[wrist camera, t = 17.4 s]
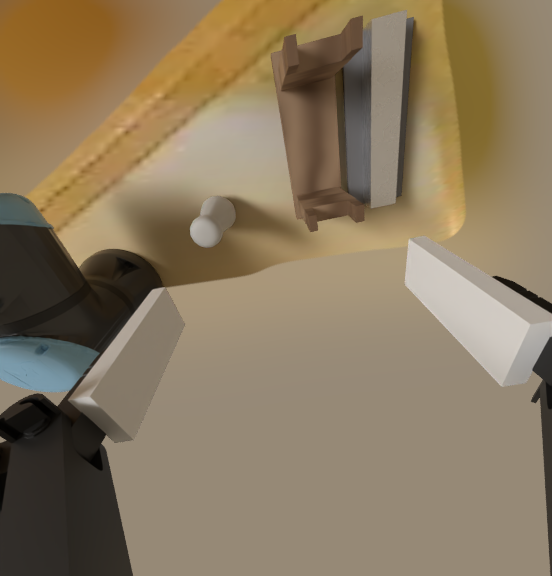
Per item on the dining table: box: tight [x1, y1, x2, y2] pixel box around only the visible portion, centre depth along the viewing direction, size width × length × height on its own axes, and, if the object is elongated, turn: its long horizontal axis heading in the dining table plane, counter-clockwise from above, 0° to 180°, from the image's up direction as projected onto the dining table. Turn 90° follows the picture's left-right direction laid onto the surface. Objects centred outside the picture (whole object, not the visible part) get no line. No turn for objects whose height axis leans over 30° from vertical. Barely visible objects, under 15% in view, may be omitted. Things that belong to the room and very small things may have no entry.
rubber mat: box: [343, 17, 414, 204], centre depth 37 cm, size 9×22×1 cm, turn 12°
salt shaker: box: [190, 196, 236, 248], centre depth 37 cm, size 6×6×13 cm
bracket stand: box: [271, 16, 364, 232], centre depth 32 cm, size 8×22×14 cm, turn 11°
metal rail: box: [362, 10, 407, 209], centre depth 35 cm, size 4×22×4 cm, turn 12°
